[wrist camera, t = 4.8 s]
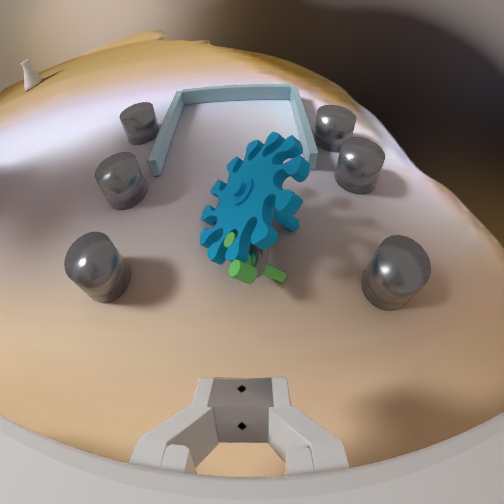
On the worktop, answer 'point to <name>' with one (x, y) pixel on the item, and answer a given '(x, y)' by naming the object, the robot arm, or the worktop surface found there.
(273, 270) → the gear
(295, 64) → the worktop surface
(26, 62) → the flask
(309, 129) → the light blue u-shaped piece
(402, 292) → the spacers
